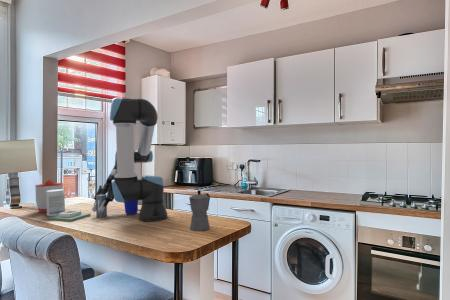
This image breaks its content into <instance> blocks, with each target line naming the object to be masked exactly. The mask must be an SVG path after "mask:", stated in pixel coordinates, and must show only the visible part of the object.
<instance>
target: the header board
mask: <svg viewBox="0 0 450 300" xmlns="http://www.w3.org/2000/svg"><path fill="white" fill-rule="evenodd" d="M90 216H92V214H91V213H86V212H84V213H83V212H82V211H81V210H65V212H62V213H59V215H57V216H48V220H49V221H59V222H60V221H61V222H62V221H63V222H75V221H77V220H80V219H84V218H87V217H90Z"/></svg>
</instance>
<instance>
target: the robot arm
mask: <svg viewBox="0 0 450 300" xmlns="http://www.w3.org/2000/svg"><path fill="white" fill-rule="evenodd" d="M109 120H110V121H112V124H113V126H115V130H116V131H115V133H116V134H115V135H116V136H115V137H116V141H115V142H116V152H115V160H114V166H113V168H112V170H111V171H110V172H109V175H108V177H107V179H106V180H105V183H104V185H99V186H98V189H97V192H96V193H95V196H94V197H93V200H95V201H94V203H93V207H91V210H92V212H94V213H96V195H106V199H105V200H104V201H103V203H102V205H101V207H100V209H99V210H100V211H101V212H103V210H104V209H105V207H106V206H107V207H108V205H109V203H110V202H113V201H114V200H115V202H117V203H118V202H119V203H121V202H122V203H124V202H125V201H135V200H138V201H141V207H140V209H141V210H140V209H139V210H140V211H139V214H138V219H139V221H143V222H156V221H162V220H165V219H167V218H168V211H167V208H166V205H165V199H164V198H165V190H164V189H165V188H164V186H165V185H164V179H163V177H162V176H158V175H146V174H145V175H144V174H143V175H141V177H139V178H138V174H136V172H135V164H138V163H139V164H140V163H141V164H144V163H152V162H153V158H154V155H153V151H152V150H151V149H152V142H153V136H154V130H155V126H156V125H157V123H158V112H157V109H156V107H155V106H154V105H153V103H152V102H150V101H149V100H147V99H144V98H133V97H131V98H130V97H114V98H113V99H112V100H111V104H110V112H109ZM137 122H139V123H140V127H139V135H138V144H137V150H135V149H134V148H135V147H134V146H135V144H134V138H135V137H134V135H135V134H134V127H135V126H136V125H137Z"/></svg>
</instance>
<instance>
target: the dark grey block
mask: <svg viewBox="0 0 450 300" xmlns="http://www.w3.org/2000/svg"><path fill="white" fill-rule="evenodd" d="M95 195H96V194H95ZM106 197H107V194H105V195H96V212H95V214H96V215H95V216H100V217H99V218H103V217H106V215H107V216H108V205H107V206H106V207H105V209H104V210H103V212H101V211H100V210H99V209H100V207H101V205H102V203H103V201H104V200H105V199H106Z"/></svg>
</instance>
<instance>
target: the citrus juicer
mask: <svg viewBox="0 0 450 300" xmlns="http://www.w3.org/2000/svg"><path fill="white" fill-rule="evenodd" d="M34 187H35V201H36V202H35V204H36V208H37V210H38V211H39V212H40V213H42V214H43V213H44V214H45V213H46V214H47V207H46V191H49V190H58V189H63V190H64V183H62V182H54V181H52V179H48V180H47V181H45V183H40V184H35V185H34Z"/></svg>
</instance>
